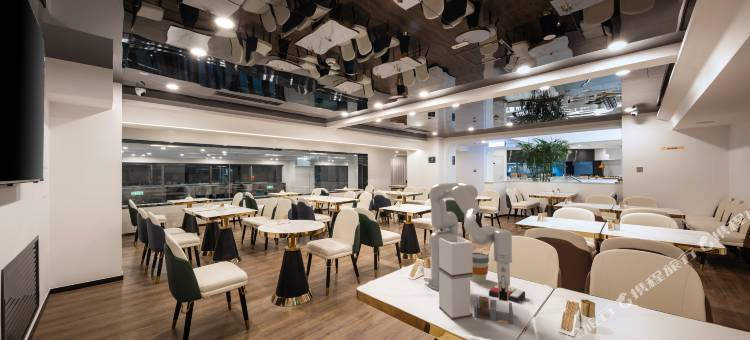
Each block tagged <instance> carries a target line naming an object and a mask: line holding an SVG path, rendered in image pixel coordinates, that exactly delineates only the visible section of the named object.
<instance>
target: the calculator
mask: <svg viewBox="0 0 750 340" xmlns="http://www.w3.org/2000/svg"><path fill="white" fill-rule="evenodd" d="M488 297H491V298H495V299H496V298H497V299H499V293H498V284H495V285H494V286H493V287H492V288H491V289H490V290H488ZM525 299H526V291H524V290H521V289H518V288H517V289H516V288H514V287H510V286H508V301H510V302H514V303H516V304H517V303H520V302H523V301H524V300H525Z"/></svg>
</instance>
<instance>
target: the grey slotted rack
mask: <svg viewBox="0 0 750 340" xmlns="http://www.w3.org/2000/svg"><path fill="white" fill-rule="evenodd" d="M489 299H490V298H489ZM489 303H490V304H489V315H488V316H483V315H479V296H478V297H477V296H475V299H474V303H473V304H474V305H473V316H474V318H476V319H482V320H487V321H491V322H492V321H493V322H497V323H505V324H509V325H510V324H511V325H514V311H513V303H512V301H510V302H509V301H508V312H506V311H501V310H497V300H496V299H492V298H491V299H490V301H489Z"/></svg>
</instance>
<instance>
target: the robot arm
mask: <svg viewBox="0 0 750 340" xmlns="http://www.w3.org/2000/svg"><path fill="white" fill-rule="evenodd" d="M477 197H478V190H477V187H475V186H474V185H473V184H468V183H461V182H460V183H459V182H450V183H449V182H447V183H445V182H444V183H436V184H435V185H433V186H432V187H431V188H430V190H429V200H430V206H431V207H430V212H431V213H430V214H431V216H430V217H431V226H432V228H433V229H435V230H440V231H435V232H434V231H433V232H432V233H431V234H430V235H429V237H428V242H429V247H430V276H424V277H423V280H424V282H427V283H428V287H429V288H430V289H432V290H435V291H439V238H442V239H444V240H446V241H449V242H454V243H457V236H459V222H458V221H459V220H458V217H457V215H456V213H455V212H453V211H447V204H446V202H445V200H444V199H453V200H454V201H455V203H456V204H457V206H458V208H459V209H460V210H461V212H462V213H463V215H464V216H463V217H464V219H463V222H464V228H465V230H466V232H467V234H468V235H469V237H470V239H471V240H472V242H474V243H475V244H477V245H486V244H493V261H495V262H496V275H497V282H498V283H497V285H498V284H499V285H500V290H499V298H498V300H499V299H500V300H505V301H504V302H506V301H507V285H508V287H510V286H511V266H510V264H511V263H513V247H512V246H513V245H512V244H513V242H512V241H513V237H512V236H513V234H512V232H511V231H510V230H508V229H504V228H503V229H501V228H499V227H497V226H493V225H491V226H482V227H480V226H479V224H478V223H477V221H476V219H475V215H476V214H477V213H479V211H480V204H479V203H478V202H477V201H476V200H475V199H477ZM501 283H502V284H501ZM505 283H506V284H505ZM501 286H502V287H501Z"/></svg>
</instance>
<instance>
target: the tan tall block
mask: <svg viewBox="0 0 750 340" xmlns="http://www.w3.org/2000/svg"><path fill="white" fill-rule="evenodd" d="M501 284H502V283H501ZM505 284H506V283H505ZM497 285H498V293H499V290H500V285H499V284H498V283H497ZM501 287H502V286H501ZM508 287H509V285H507V301H505V300H500V299H499V298H498V301H501V302H508V303H509V300H508Z"/></svg>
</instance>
